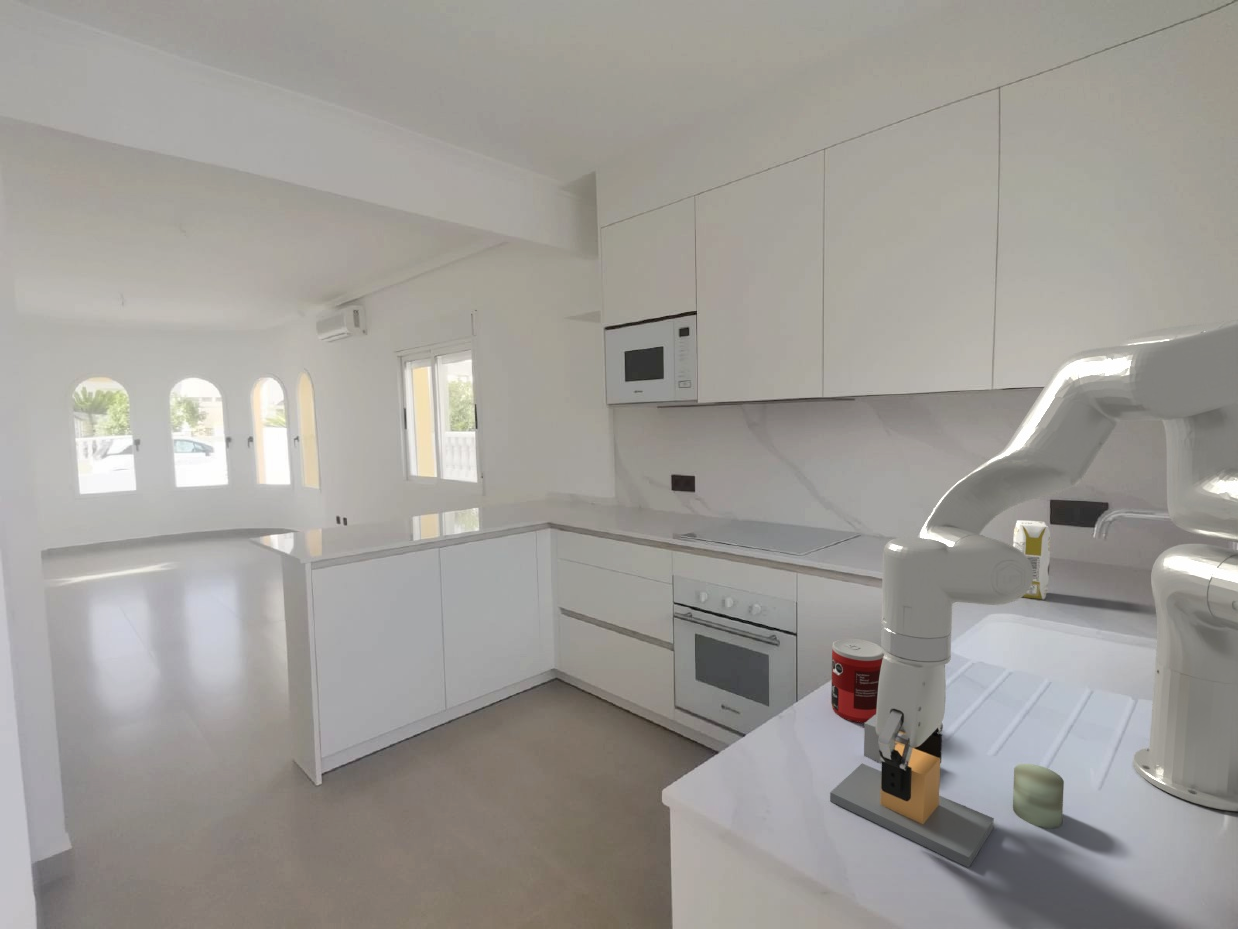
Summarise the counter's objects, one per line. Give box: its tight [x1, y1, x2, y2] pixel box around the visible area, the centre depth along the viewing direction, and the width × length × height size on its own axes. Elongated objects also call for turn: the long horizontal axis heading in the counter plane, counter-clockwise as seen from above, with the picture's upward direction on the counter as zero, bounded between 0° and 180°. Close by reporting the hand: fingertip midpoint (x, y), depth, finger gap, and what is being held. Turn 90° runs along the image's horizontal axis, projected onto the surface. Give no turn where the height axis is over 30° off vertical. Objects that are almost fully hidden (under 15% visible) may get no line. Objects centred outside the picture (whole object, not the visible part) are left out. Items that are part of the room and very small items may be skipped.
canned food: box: [830, 638, 884, 724], centre depth 100 cm, size 8×8×11 cm
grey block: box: [863, 714, 908, 764], centre depth 88 cm, size 5×5×5 cm
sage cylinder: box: [1012, 763, 1065, 829], centre depth 75 cm, size 5×5×5 cm
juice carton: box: [1012, 519, 1052, 600], centre depth 160 cm, size 8×9×19 cm
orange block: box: [880, 744, 941, 824], centre depth 75 cm, size 5×5×6 cm
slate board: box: [829, 763, 995, 869], centre depth 76 cm, size 9×16×1 cm, turn 44°
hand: (912, 777), depth 75 cm, fingers open, 9 cm apart
